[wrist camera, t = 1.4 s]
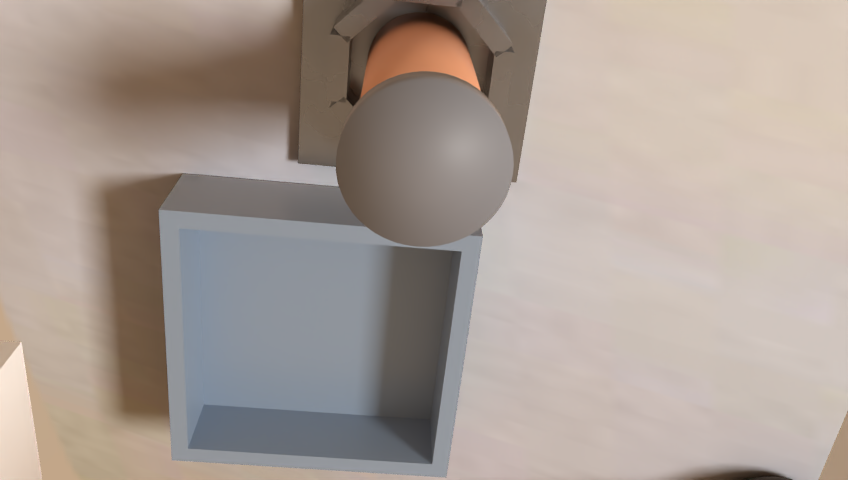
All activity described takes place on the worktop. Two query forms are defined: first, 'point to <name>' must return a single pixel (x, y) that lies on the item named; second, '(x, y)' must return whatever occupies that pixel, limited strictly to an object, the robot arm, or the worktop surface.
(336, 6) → the socket base
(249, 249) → the bin
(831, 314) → the worktop surface
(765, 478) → the cola bottle
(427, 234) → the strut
